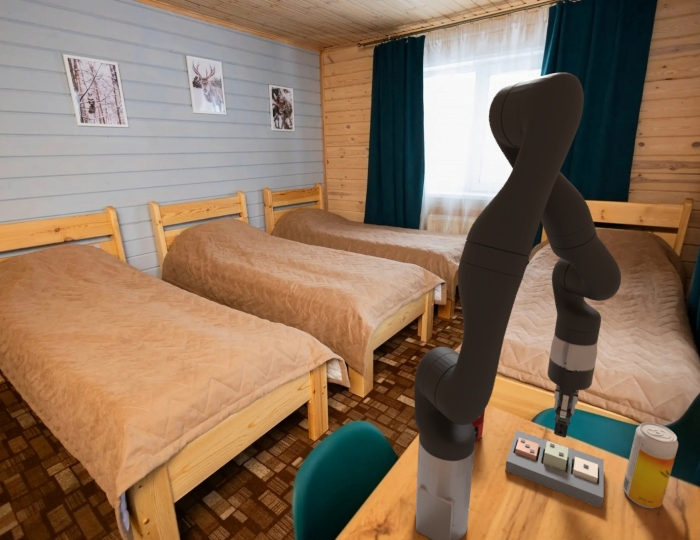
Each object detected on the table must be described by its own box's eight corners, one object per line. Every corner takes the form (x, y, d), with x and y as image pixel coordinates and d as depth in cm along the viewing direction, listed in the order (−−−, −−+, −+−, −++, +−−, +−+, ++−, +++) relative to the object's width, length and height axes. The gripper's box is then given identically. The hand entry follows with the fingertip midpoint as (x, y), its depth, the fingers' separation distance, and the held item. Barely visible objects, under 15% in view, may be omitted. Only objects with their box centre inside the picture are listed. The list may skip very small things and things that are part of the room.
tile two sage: (564, 471, 77) (567, 459, 76) (542, 463, 79) (544, 451, 78) (566, 458, 80) (568, 447, 79) (545, 451, 82) (547, 439, 81)
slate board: (601, 508, 71) (603, 497, 70) (505, 470, 80) (506, 460, 79) (601, 469, 80) (603, 459, 79) (515, 438, 89) (516, 429, 88)
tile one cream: (595, 489, 74) (597, 477, 73) (571, 480, 76) (574, 468, 75) (595, 475, 77) (598, 463, 76) (573, 467, 79) (575, 455, 79)
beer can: (668, 513, 70) (687, 445, 65) (631, 508, 71) (648, 441, 67) (650, 486, 75) (667, 422, 71) (616, 481, 77) (630, 418, 72)
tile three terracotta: (534, 466, 80) (536, 455, 79) (514, 459, 82) (515, 447, 81) (537, 454, 83) (539, 443, 82) (517, 447, 85) (519, 436, 84)
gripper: (553, 340, 80) (544, 410, 85) (545, 369, 69) (535, 447, 74) (596, 348, 76) (583, 421, 81) (594, 381, 65) (579, 463, 70)
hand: (560, 434), depth 77 cm, fingers closed
